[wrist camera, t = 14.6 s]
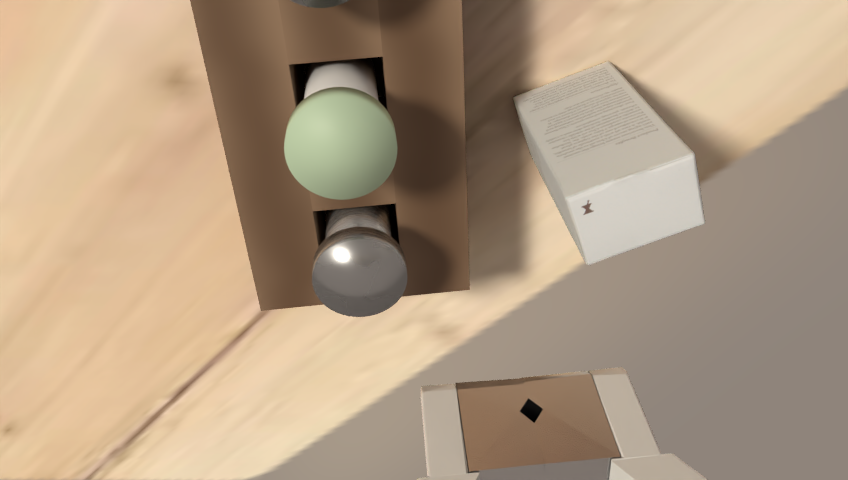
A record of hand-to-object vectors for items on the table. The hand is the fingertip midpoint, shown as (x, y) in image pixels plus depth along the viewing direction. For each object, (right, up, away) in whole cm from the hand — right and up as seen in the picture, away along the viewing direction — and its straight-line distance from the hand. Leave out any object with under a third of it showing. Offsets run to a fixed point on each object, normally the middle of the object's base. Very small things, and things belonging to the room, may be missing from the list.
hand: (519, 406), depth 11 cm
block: (-6, +12, +30) cm, 33 cm away
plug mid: (-6, +11, +28) cm, 31 cm away
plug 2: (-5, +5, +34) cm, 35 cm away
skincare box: (+7, +10, +33) cm, 35 cm away
